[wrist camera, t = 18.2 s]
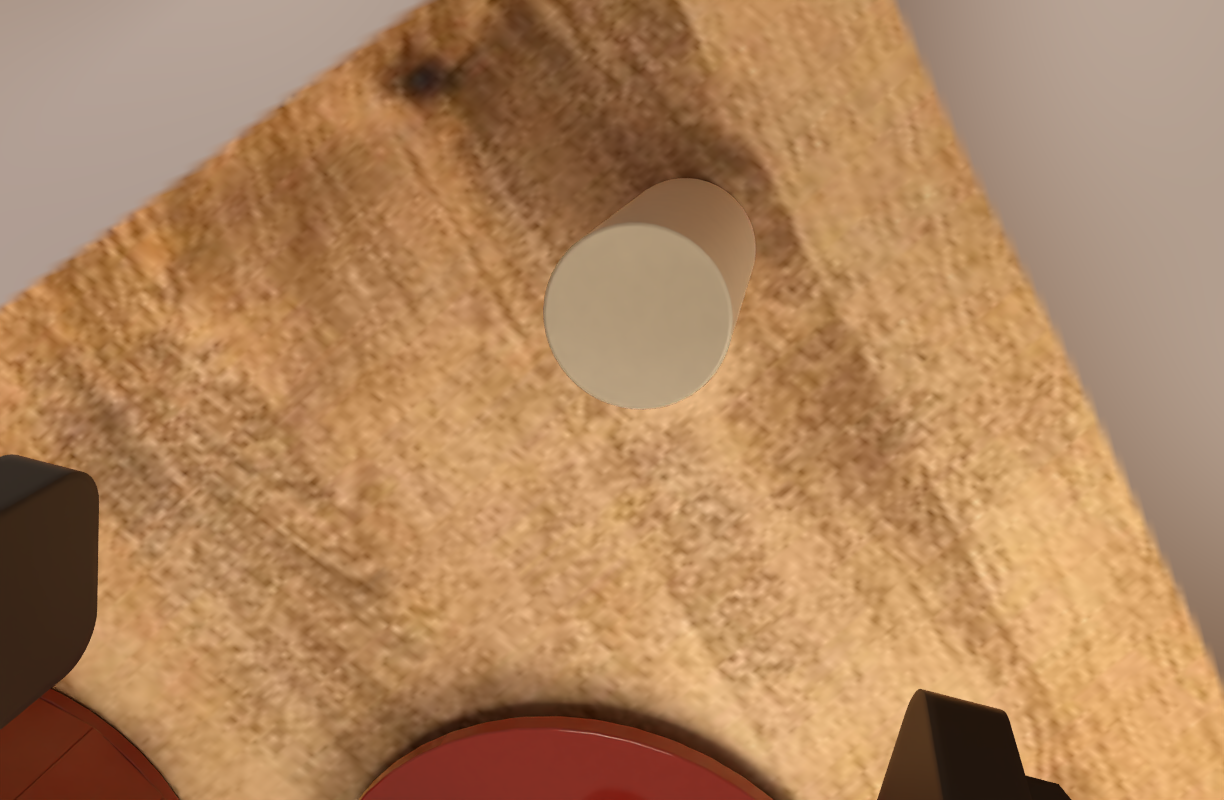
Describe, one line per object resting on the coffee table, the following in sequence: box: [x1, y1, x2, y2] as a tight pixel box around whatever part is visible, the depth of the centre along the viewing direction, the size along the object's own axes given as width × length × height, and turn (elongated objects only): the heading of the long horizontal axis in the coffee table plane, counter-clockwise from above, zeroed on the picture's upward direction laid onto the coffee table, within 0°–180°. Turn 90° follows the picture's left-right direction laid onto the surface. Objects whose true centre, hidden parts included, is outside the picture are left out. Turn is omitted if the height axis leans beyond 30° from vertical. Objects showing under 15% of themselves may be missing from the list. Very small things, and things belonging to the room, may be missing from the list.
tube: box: [543, 178, 756, 410], centre depth 21 cm, size 3×3×7 cm
